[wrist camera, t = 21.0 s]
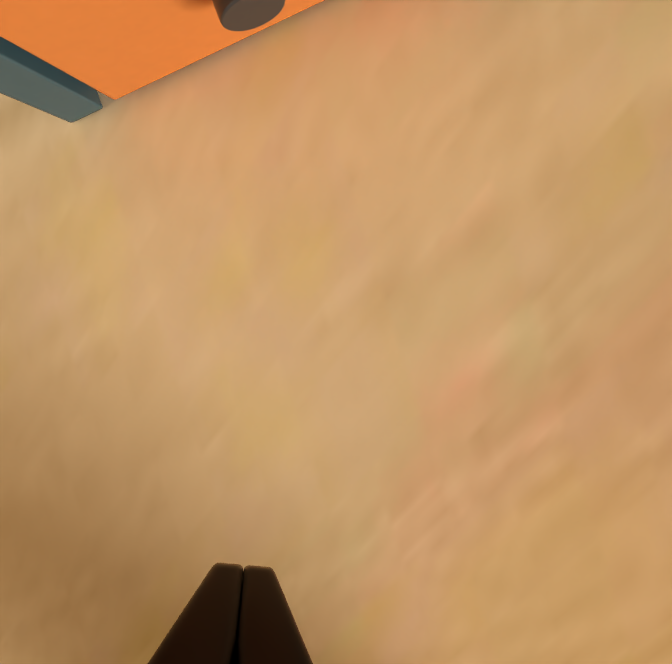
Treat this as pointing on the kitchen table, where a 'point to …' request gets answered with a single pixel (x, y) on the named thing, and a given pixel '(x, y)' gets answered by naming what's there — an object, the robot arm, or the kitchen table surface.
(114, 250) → the kitchen table surface
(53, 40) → the drawer
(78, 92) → the cubby
